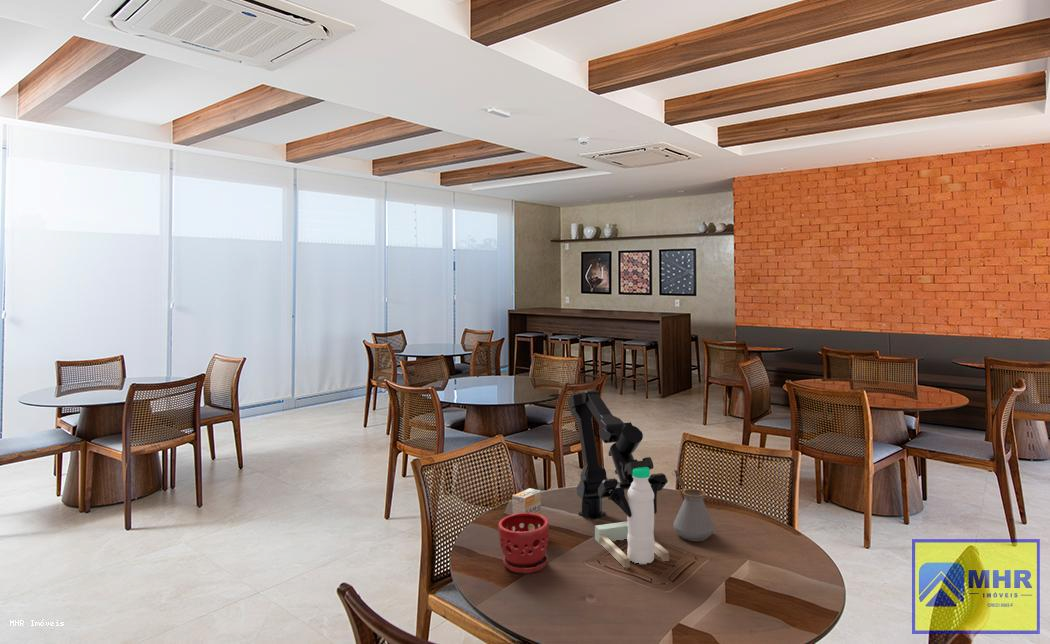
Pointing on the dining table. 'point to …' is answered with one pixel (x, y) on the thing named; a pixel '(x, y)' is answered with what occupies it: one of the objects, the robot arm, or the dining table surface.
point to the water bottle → (641, 518)
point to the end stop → (612, 531)
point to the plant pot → (524, 542)
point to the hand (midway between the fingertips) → (643, 514)
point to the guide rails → (622, 557)
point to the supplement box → (527, 504)
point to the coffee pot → (693, 515)
